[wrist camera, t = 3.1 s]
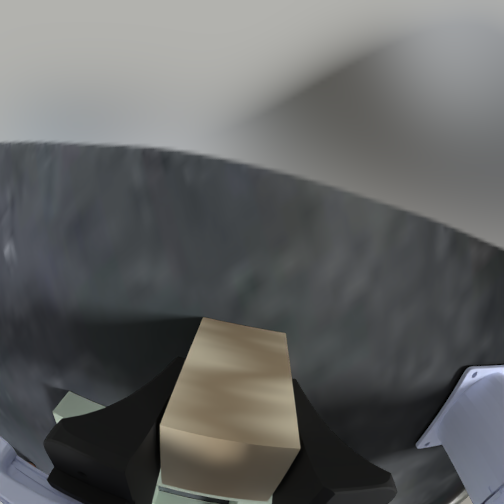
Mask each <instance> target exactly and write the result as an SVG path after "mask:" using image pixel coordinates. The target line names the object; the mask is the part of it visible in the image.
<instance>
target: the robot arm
mask: <svg viewBox="0 0 504 504" xmlns="http://www.w3.org/2000/svg"><path fill="white" fill-rule="evenodd" d="M185 360H186V359H184V358H180V357H177V358H175V359H174V361H173V362H172V363H171V364H170V365H169V366H168V367H167V368H165V369H164V370H163V371H162V372H161V373H160V374H159V375H158V376H156V377H155V378H154V379H153V380H152V381H150V382H149V383H148V384H146V385H145V386H143V387H142V388H141V389H139V390H138V391H136V392H135V393H133V394H131V395H130V396H128V397H126V398H124V399H123V400H121V401H118V402H116V403H114V404H112V405H110V406H108V407H105V408H103V409H100V410H97V411H94V412H90V413H87V414H83V415H79V416H73V417H68V418H62V419H61V420H60V421H59V422H58V423H57V424H56V425H55V426H54V427H53V429H52V430H51V431H50V433H49V434H48V436H47V437H46V438H45V440H44V447H45V450H46V452H47V454H48V456H49V458H50V460H51V461H52V463H53V465H54V468H53V470H52V471H51V473H50V475H47V474H46V473H44V472H42V471H41V470H39V469H37V468H36V467H34V466H33V465H31V464H29V463H28V462H26V461H25V460H23V459H22V458H21V457H19V456H18V455H17V454H16V452H15V450H14V448H13V447H12V446H11V445H10V444H9V443H8V442H7V441H6V440H5V439H3V438H2V437H1V436H0V501H1V502H2V503H3V504H152V501H153V497H154V493H155V489H156V485H157V481H158V477H159V473H160V469H161V458H160V423H161V421H162V418H163V415H164V413H165V410H166V408H167V405H168V403H169V400H170V398H171V395H172V393H173V390H174V388H175V385H176V383H177V380H178V378H179V375H180V373H181V370H182V368H183V365H184V363H185ZM292 384H293V392H294V399H295V407H296V415H297V423H298V431H299V440H300V448H301V449H300V451H299V452H298V454H297V456H296V457H295V459H294V461H293V462H292V464H291V466H290V467H289V469H288V471H287V472H286V474H285V476H284V477H283V479H282V480H281V482H280V483H279V485H278V487H277V488H276V490H275V491H274V493H273V494H272V504H388V503H389V502H390V501H391V500H392V499H393V498H394V497H395V496H396V494H397V489H396V486H395V483H394V480H393V477H392V475H391V473H389V472H387V471H385V470H383V469H381V468H379V467H377V466H376V465H374V464H372V463H370V462H369V461H367V460H366V459H364V458H363V457H361V456H360V455H358V454H357V453H356V452H354V451H353V450H352V449H351V448H349V447H348V446H347V445H346V444H345V443H343V442H342V441H341V440H340V439H339V438H338V437H337V436H336V435H335V434H334V433H333V432H332V431H331V430H330V429H329V427H328V426H327V425H326V424H325V423H324V421H323V420H322V419H321V418H320V416H319V415H318V414H317V412H316V411H315V409H314V408H313V406H312V405H311V403H310V402H309V400H308V399H307V397H306V395H305V394H304V392H303V391H302V389H301V387H300V385H299V384H298V382H297V381H296V379H292ZM437 445H443V447H444V449H445V450H446V452H447V454H448V456H449V458H450V460H451V461H452V463H453V465H454V467H455V469H456V471H457V473H458V475H459V477H460V479H461V480H462V482H463V484H464V486H465V488H466V490H467V492H468V494H469V496H470V499H471V501H472V503H473V504H504V365H494V366H471V367H468V368H467V369H466V370H465V371H464V373H463V375H462V376H461V378H460V380H459V382H458V383H457V385H456V387H455V388H454V390H453V392H452V393H451V395H450V396H449V398H448V400H447V401H446V403H445V404H444V406H443V407H442V409H441V410H440V412H439V413H438V415H437V416H436V417H435V419H434V420H433V422H432V423H431V424H430V426H429V427H428V429H427V430H426V431H425V433H424V434H423V435H422V436H421V438H420V439H419V440H418V442H417V443H416V447H417V448H418V449H421V448H427V447H432V446H437Z"/></svg>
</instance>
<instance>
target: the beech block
mask: <svg viewBox="0 0 504 504" xmlns="http://www.w3.org/2000/svg"><path fill="white" fill-rule="evenodd" d="M300 449H301V448H300V440H299V431H298V423H297V415H296V407H295V399H294V392H293V384H292V377H291V369H290V362H289V355H288V347H287V340H286V333H281V332H275V331H270V330H264V329H259V328H253V327H248V326H243V325H238V324H233V323H228V322H224V321H219V320H214V319H210V318H205V317H203V319H202V321H201V324H200V326H199V328H198V331H197V333H196V336H195V338H194V341H193V343H192V345H191V348H190V350H189V353H188V355H187V358H186V360H185V363H184V365H183V368H182V370H181V373H180V375H179V378H178V380H177V383H176V385H175V388H174V390H173V393H172V395H171V398H170V400H169V403H168V405H167V408H166V410H165V413H164V415H163V418H162V421H161V423H160V458H161V480H162V484H165V485H169V486H173V487H177V488H181V489H185V490H190V491H194V492H199V493H204V494H210V495H215V496H221V497H228V498H235V499H244V500H253V501H266V502H267V501H268V500H269V499H270V497H271V496H272V494H273V493H274V491H275V490H276V488H277V487H278V485H279V483H280V482H281V480H282V479H283V477H284V476H285V474H286V472H287V471H288V469H289V467H290V466H291V464H292V462H293V461H294V459H295V457H296V456H297V454H298V452H299V451H300Z"/></svg>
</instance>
